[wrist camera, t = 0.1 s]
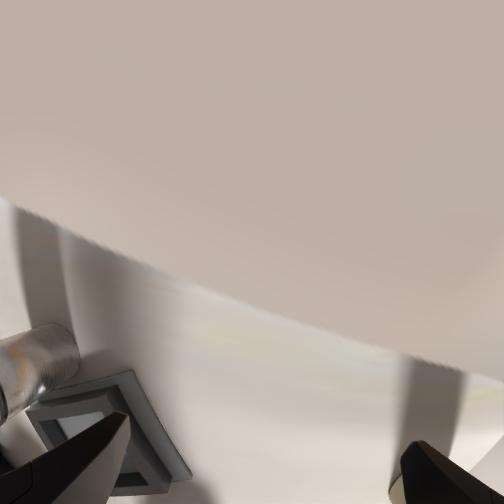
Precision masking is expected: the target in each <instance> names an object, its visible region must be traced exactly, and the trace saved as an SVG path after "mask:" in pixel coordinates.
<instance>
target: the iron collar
mask: <svg viewBox="0 0 504 504" xmlns="http://www.w3.org/2000/svg"><path fill="white" fill-rule="evenodd" d="M114 411H119V412H122V413H125V414H127V415H128V416H129V421H130V431H131V433H130V439H129V442H128V445H127V449H126V453H127V454H128V456H129V457H130V459H131V460H132V462H133V463H134V465H135V466H136V468H137V469H138V470H139V472H133V473H122V474H119V475H118V478H117V480H116V483H115V485H114V487H113V489H112V491H111V494H110V496H136V495H150V494H160V493H168V490H169V486H170V483H171V480H172V475H171V474H170V472H169V471H168V469H167V468H166V467H165V465H164V464H163V462H162V461H161V459H160V458H159V456H158V455H157V453H156V451H155V450H154V448H153V447H152V445H151V444H150V442H149V440H148V439H147V437H146V435H145V434H144V432H143V430H142V429H141V427H140V425H139V424H138V422H137V420H136V418H135V417H134V415H133V413H132V411H131V409H130V407H129V406H128V404H127V402H126V400H125V398H124V396H123V394H122V392H121V390H120V388H119V386H118V384H116V385H113V386H109V387H105V388H101V389H96V390H92V391H88V392H84V393H79V394H75V395H70V396H65V397H61V398H56V399H51V400H46V401H40V402H37V403H36V404H35V405H33V406H32V407H30V408H29V409H27V410H26V411H25V412H26V414H27V416H28V418H29V420H30V421H31V423H32V425H33V427H34V428H35V430H36V432H37V433H38V435H39V437H40V438H41V440H42V442H43V443H44V445H45V446H46V448H47V450H48V451H50V450H51V449H53V448H55V447H56V446H58V445H60V444H62V443H63V442H65V441H67V440H68V439H67V438H66V436H65V435H64V433H63V431H62V430H61V428H60V426H59V424H58V423H57V421H56V419H60V418H67V417H73V416H79V415H85V414H90V413H96V412H102V413H103V415H104V417H106V416H108V415H109V414H111V413H112V412H114ZM110 496H109V497H110Z"/></svg>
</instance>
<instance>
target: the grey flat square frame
mask: <svg viewBox="0 0 504 504" xmlns="http://www.w3.org/2000/svg"><path fill="white" fill-rule="evenodd" d="M116 384H118V386H119V388H120V390H121V392H122V394H123V396H124V398H125V400H126V402H127V404H128V406H129V407H130V409H131V411H132V413H133V415H134V417H135V418H136V420H137V422H138V424H139V425H140V427H141V429H142V430H143V432H144V434H145V435H146V437H147V439H148V440H149V442H150V444H151V445H152V447H153V448H154V450H155V451H156V453H157V455H158V456H159V458H160V459H161V461H162V462H163V464H164V465H165V467H166V468H167V469H168V471H169V472H170V474H171V475H172V480H171V482H176V481H183V480H189V479H192V476H193V475H192V474H191V472H190V471H189V469H188V468H187V466H186V465H185V463H184V461H183V460H182V458H181V457H180V455H179V454H178V452H177V450H176V449H175V447H174V446H173V444H172V442H171V441H170V439H169V437H168V436H167V434H166V432H165V431H164V429H163V427H162V425H161V424H160V422H159V420H158V418H157V417H156V415H155V413H154V411H153V409H152V407H151V406H150V404H149V402H148V400H147V398H146V396H145V394H144V392H143V390H142V388H141V386H140V384H139V382H138V380H137V378H136V376H135V374H134V372H133V370H131V371H127V372H124V373H120V374H116V375H113V376H109V377H105V378H102V379H98V380H94V381H90V382H86V383H82V384H78V385H74V386H70V387H66V388H61V389H57V390H53V391H49V392H48V393H46V394H45V395H43V396H42V397H41V398H39V399H38V400H36V401H35V402H33V403H32V404H30V407H32V406H33V405H35V404H36V403H37V402H40V401H46V400H51V399H56V398H61V397H65V396H70V395H75V394H79V393H84V392H88V391H92V390H96V389H101V388H105V387H109V386H113V385H116ZM103 418H104V415H103V413H102V412H96V413H90V414H85V415H79V416H73V417H67V418H60V419H56V421H57V423H58V424H59V426H60V428H61V430H62V431H63V433H64V435H65V436H66V438H67V439H70V438H72V437H73V436H75V435H77V434H78V433H80V432H82V431H83V430H85V429H87V428H88V427H90V426H91V425H93V424H95V423H96V422H98V421H100V420H101V419H103ZM133 472H139V470H138V469H137V468H136V466H135V465H134V463H133V462H132V460H131V459H130V457H129V456H128V454H127V453H126V452H125V455H124V458H123V462H122V465H121V468H120V472H119V474H122V473H133Z"/></svg>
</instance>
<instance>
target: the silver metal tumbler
mask: <svg viewBox="0 0 504 504" xmlns="http://www.w3.org/2000/svg"><path fill="white" fill-rule="evenodd" d="M79 364H80V354H79V350H78V347H77V344H76V342H75V340H74V338H73V337H72V336H71V334H70V333H69V332H68V331H67V330H66V329H65V328H63V327H62V326H60V325H57V324H47V325H44V326H41V327H38V328H35V329H32V330H29V331H26V332H23V333H20V334H17V335H14V336H11V337H8V338H5V339H2V340H0V426H1V425H3V424H4V423H5V422H6V421H7V420H9V419H10V418H12V417H13V416H14V415H16V414H17V413H19V412H20V411H22V410H23V409H25V408H26V407H28V406H29V405H30V404H32V403H33V402H35V401H36V400H38V399H39V398H41V397H42V396H43V395H45V394H46V393H48V392H49V391H51V390H52V389H54V388H55V387H57V386H58V385H59V384H61V383H62V382H64V381H65V380H67V379H68V378H70V377H71V376H72V375H74V374H75V373H76V371H77V370H78V368H79Z"/></svg>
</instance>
